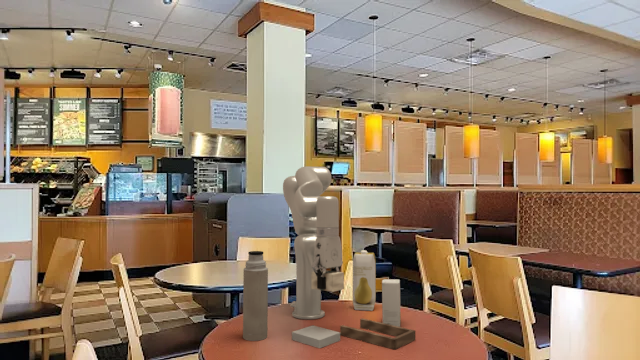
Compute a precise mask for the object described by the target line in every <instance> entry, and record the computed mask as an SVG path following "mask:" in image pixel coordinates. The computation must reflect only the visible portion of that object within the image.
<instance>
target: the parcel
mask: <svg viewBox="0 0 640 360" xmlns="http://www.w3.org/2000/svg"><path fill="white" fill-rule="evenodd" d="M321 272H322V269H321ZM324 277H326V289H318V288H317V276H316V274H315V272H311V289H317V290H321V291H325V292H332V293H334V292H337V291H342V290H345V272H344V271H342V272H341V271H339V272H336V271H331V270H326V272H325V276H324Z"/></svg>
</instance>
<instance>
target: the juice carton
mask: <svg viewBox="0 0 640 360" xmlns="http://www.w3.org/2000/svg"><path fill="white" fill-rule="evenodd" d="M376 260H377V259H376V256H375V253H374V252H368V251H367V250H366V249H365V250H364V249H362V250H360V251H359V252H355V253H354V254H353V259H352V304H353V308H354V310H355V311H371V312H372V311H373V310H374V309H375V305H376V298H377V296H376V292H377V291H376V290H377V288H376V286H377V285H376V284H377V283H376V280H377V278H376V276H377V274H376V273H377V272H376V271H377V268H376V267H377V266H376V265H377V262H376Z"/></svg>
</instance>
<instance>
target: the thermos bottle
mask: <svg viewBox="0 0 640 360" xmlns="http://www.w3.org/2000/svg"><path fill="white" fill-rule="evenodd" d="M247 252H248V259H247V260H246V261H245V267H244V268H243V283H242V284H243V292H242V293H243V295H242V296H243V299H242V300H243V301H242V302H243V303H242V307H243V308H242V338H243V339H244V340H245V341H250V342H252V341H253V342H254V341H255V342H256V341H257V342H258V341H262V340H265V339H266V338H268V331H269V330H268V316H269V315H268V310H269V309H268V304H269V303H268V302H269V299H268V294H269V293H268V292H269V285H268V284H269V276H268V275H269V268H268V267H266V266H267V263H266V261H265V260H264V251H261V250H252V251H247Z"/></svg>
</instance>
